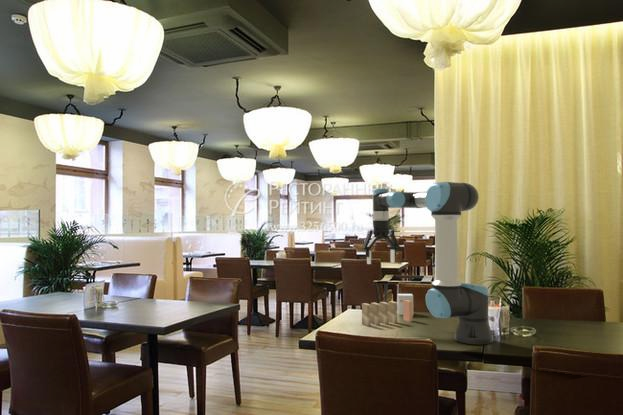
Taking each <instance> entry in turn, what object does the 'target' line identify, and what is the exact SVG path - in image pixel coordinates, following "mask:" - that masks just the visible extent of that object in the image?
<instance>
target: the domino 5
mask: <svg viewBox="0 0 623 415" xmlns="http://www.w3.org/2000/svg"><path fill="white" fill-rule="evenodd" d="M413 313H414V300H413V301H409V300H403V315H402V317H403V319H402V320H403V321H405V322H408V323H410V322H414V321H413V320H414V319H413V318H414V315H413Z"/></svg>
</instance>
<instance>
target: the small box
mask: <svg viewBox="0 0 623 415" xmlns="http://www.w3.org/2000/svg"><path fill="white" fill-rule="evenodd" d="M403 300H409V301H413V302H414V295H413V293H397V316H403ZM414 314H415V313H414V312H413V316H414Z"/></svg>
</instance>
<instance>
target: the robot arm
mask: <svg viewBox="0 0 623 415" xmlns="http://www.w3.org/2000/svg"><path fill="white" fill-rule="evenodd" d="M372 194H373V195H372V202H373V203H372V207H373V208H372V209H373V210H372V211H373V212H372V213H373V216H372V217H373V218H372V220H373V222H372V223H373V224H372V227H373V229H368V230H367V234H366V237H365V239H364V241H363V244H362V246H361V249H362V250H363V251H365V257H366V264H367V265H372V250H371V249H372V247H373V246H374V244H375V243H376V241H378V240H384V241H386V244H388V246H389V247H390V248H391V249H390V263H392V264H395V263H396V260H395V259H396V256H397V250H398V249H400V244H399V242H398V240H397V236H396V235H395V230H394V229H389V218H390V217H389V214H390V212H389V209H392V208H393V209H399V208H400V209H401V208H402V209H404V208H405V209H410V208H411V209H423V208H426V209H427V210H429V211H430V212H431V214H430V215H431V217H432V218H433V219H434V223H435V224H434V229H435V230H434V231H435V232H434V233H435V234H434V235H435V237H434V243H435V244H434V245H435V249H434V250H435V251H434V252H435V254H434V255H435V269H434V271H435V274H434V275H435V277H434V278H435V279H434V280H433V281H432V282H431V288H430V289H428V290H427V293H426V294H425V305H426V307H427V310H428V311H429V313H430V314H431V316H433V317H434V318H437V319H449V318H457V317H458V321H457V326H456V328H455V332H454V338H453V339H454V341H455V342H458V343H461V344H465V345H466V344H468V345H479V346H481V345H490V344H493V342H494V335H493V333H492V330H491V327H490V324H489V289H488V288H487V286H485V285H480V284H473V283H469V282H468V283H467V282H460V281H459V279H458V273H459V272H458V268H459V267H458V220H459V219H460V218H461V217H462V212H467V211H470V210H472V209H474V208H475V207H476V205H477V204H478V202H479V198H480V197H479V192H478V190H477V189H476V187H475V186H474V185H472V184H470V183H466V182H453V181H440V182H439V181H438V182H434V183H432V184H431V185H430V186H429V188H428V189H427V190H426V191H417V192H414V191H413V192H411V191H409V192H408V191H401V192H400V191H389V189H388V188H374V189H373V193H372Z"/></svg>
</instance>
